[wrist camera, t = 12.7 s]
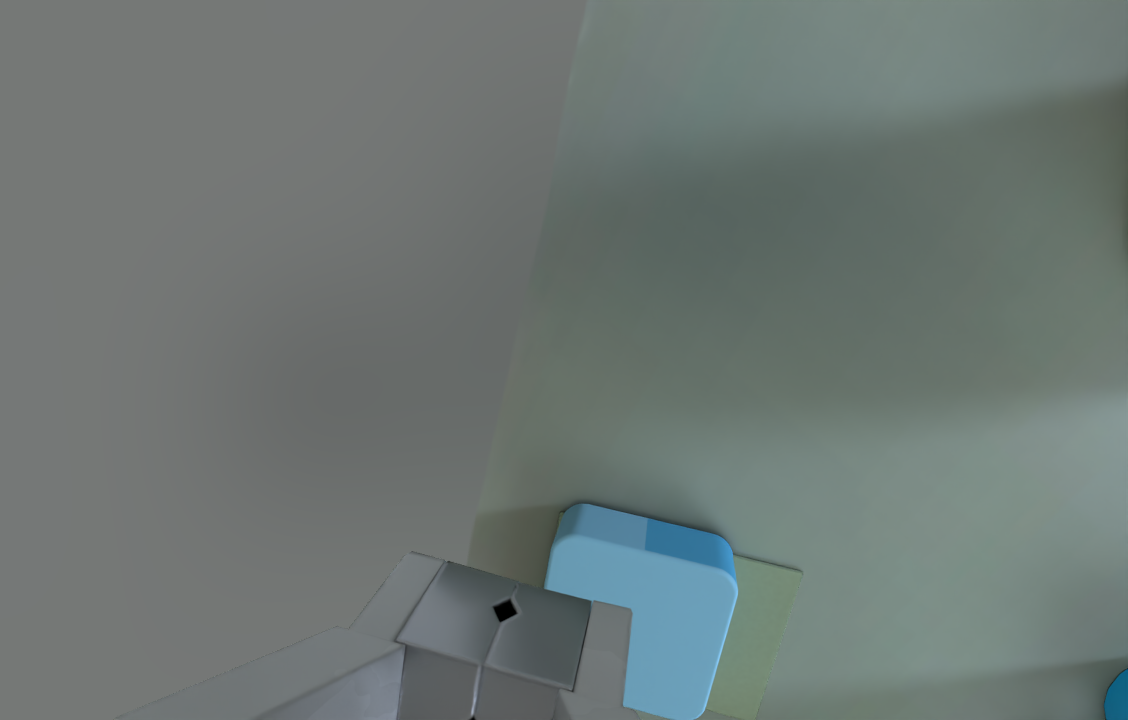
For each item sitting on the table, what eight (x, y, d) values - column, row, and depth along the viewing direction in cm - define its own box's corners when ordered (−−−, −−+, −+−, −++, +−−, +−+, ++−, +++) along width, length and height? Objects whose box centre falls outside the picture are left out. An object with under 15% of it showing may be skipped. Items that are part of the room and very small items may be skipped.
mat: (802, 571, 43) (803, 574, 43) (753, 720, 47) (754, 723, 46) (560, 511, 45) (559, 513, 45) (532, 658, 49) (531, 661, 49)
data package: (566, 497, 44) (540, 637, 48) (553, 530, 40) (526, 681, 44) (737, 537, 43) (698, 679, 46) (744, 576, 39) (700, 729, 42)
